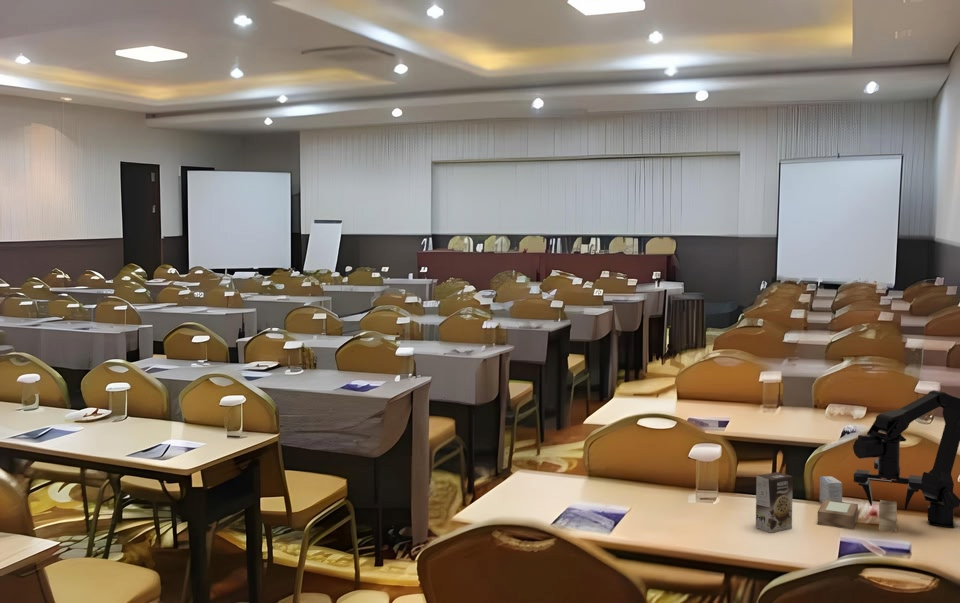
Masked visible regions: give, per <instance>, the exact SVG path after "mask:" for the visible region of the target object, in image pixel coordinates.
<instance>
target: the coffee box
mask: <svg viewBox="0 0 960 603" xmlns="http://www.w3.org/2000/svg"><path fill="white" fill-rule="evenodd" d="M793 477H794V476H793V475H789V474H785V473H781V472H776V471H775V472H771V473H764V474H759V475H756V485H755V486H756V490H755V528H758V530H759V529H760V530H762V531H764V532H766V533H767V532H768V533H770V534H773V533H776V532H782V531H786V530H792V528H793V486H794V485H793Z"/></svg>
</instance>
